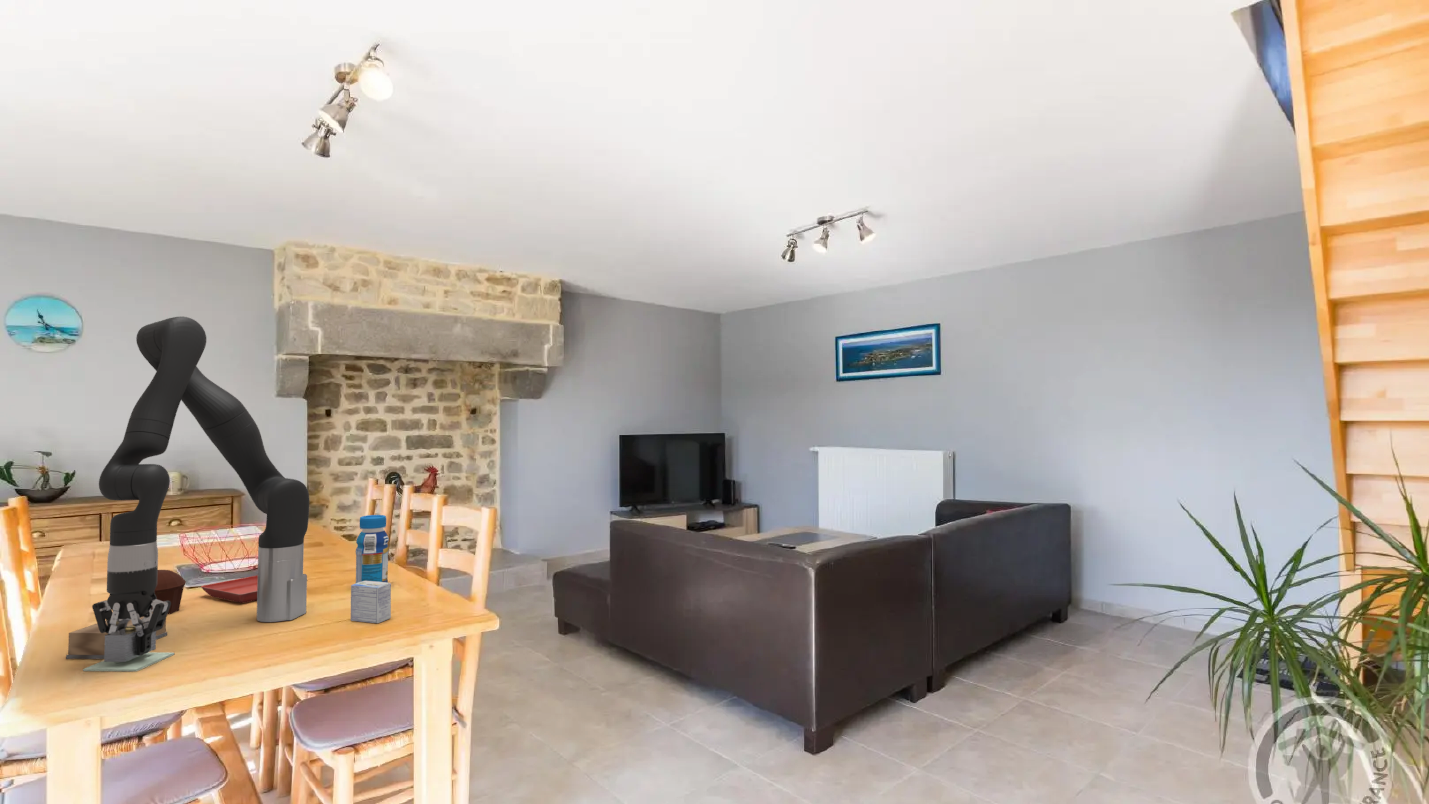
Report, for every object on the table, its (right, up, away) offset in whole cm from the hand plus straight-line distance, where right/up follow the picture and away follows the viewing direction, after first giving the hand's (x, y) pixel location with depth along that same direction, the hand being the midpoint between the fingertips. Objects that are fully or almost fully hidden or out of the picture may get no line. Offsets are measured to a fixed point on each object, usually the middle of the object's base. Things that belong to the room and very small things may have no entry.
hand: (130, 653), depth 132 cm
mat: (0, -2, 0) cm, 2 cm away
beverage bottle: (+18, -3, +58) cm, 61 cm away
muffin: (-22, -2, +33) cm, 40 cm away
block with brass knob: (0, 0, 0) cm, 0 cm away
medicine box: (+32, -3, +29) cm, 43 cm away
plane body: (-10, -2, +9) cm, 13 cm away
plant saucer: (-10, -3, +51) cm, 52 cm away
